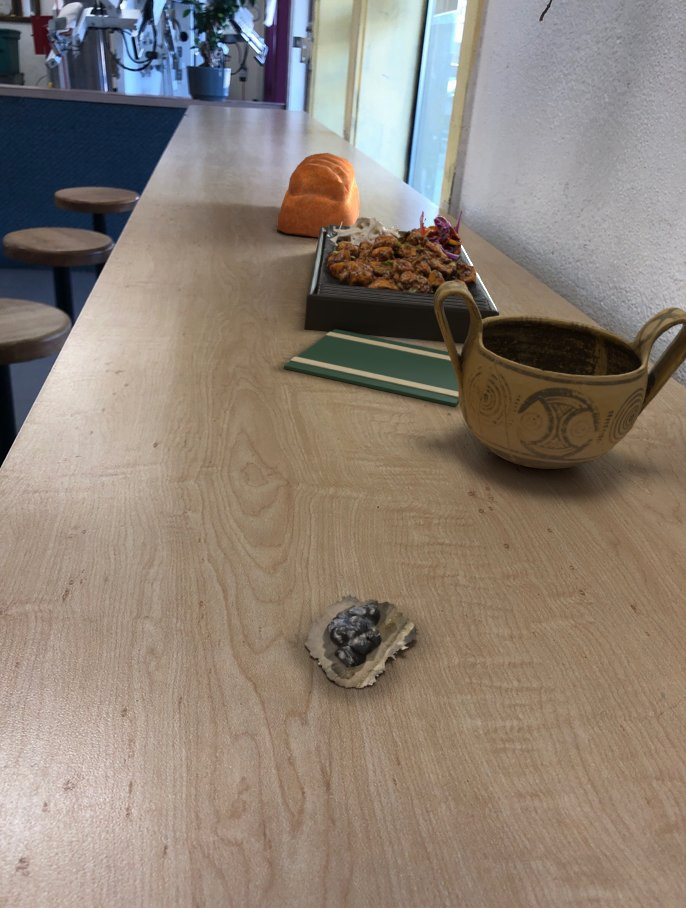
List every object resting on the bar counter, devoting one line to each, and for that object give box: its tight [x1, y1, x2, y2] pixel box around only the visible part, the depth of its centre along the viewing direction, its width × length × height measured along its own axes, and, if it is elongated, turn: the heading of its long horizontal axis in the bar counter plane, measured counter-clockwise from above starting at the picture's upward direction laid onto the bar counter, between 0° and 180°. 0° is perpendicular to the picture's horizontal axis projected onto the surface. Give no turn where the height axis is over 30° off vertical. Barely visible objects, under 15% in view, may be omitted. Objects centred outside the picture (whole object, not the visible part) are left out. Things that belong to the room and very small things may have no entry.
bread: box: [276, 152, 361, 238], centre depth 161 cm, size 16×31×13 cm, turn 174°
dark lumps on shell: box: [304, 593, 419, 689], centre depth 48 cm, size 7×8×2 cm
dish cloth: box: [283, 329, 461, 407], centre depth 93 cm, size 20×16×1 cm
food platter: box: [304, 209, 500, 344], centre depth 119 cm, size 45×25×10 cm, turn 177°
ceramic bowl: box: [434, 281, 686, 470], centre depth 71 cm, size 22×17×15 cm
